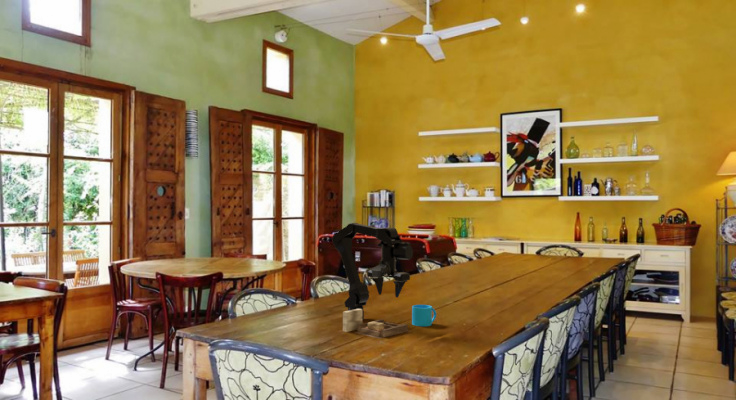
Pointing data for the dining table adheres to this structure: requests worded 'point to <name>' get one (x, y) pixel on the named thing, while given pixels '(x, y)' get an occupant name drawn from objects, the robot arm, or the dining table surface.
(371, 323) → the offcut top
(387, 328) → the rack
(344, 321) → the block
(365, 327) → the offcut low
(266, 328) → the dining table surface
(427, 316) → the mug
